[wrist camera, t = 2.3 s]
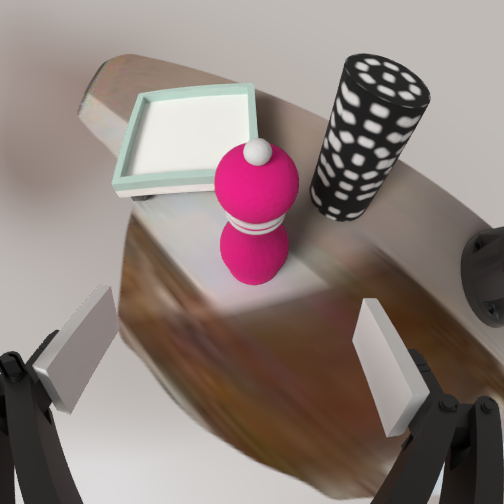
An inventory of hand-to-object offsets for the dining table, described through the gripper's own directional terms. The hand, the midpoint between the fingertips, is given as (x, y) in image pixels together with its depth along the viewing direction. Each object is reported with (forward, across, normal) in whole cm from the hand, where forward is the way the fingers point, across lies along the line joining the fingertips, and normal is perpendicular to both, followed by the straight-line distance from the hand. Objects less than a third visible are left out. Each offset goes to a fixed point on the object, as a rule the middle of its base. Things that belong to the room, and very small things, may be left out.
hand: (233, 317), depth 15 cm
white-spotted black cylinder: (+27, +12, +1) cm, 30 cm away
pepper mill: (+20, +1, -6) cm, 21 cm away
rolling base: (+32, -8, +6) cm, 33 cm away
